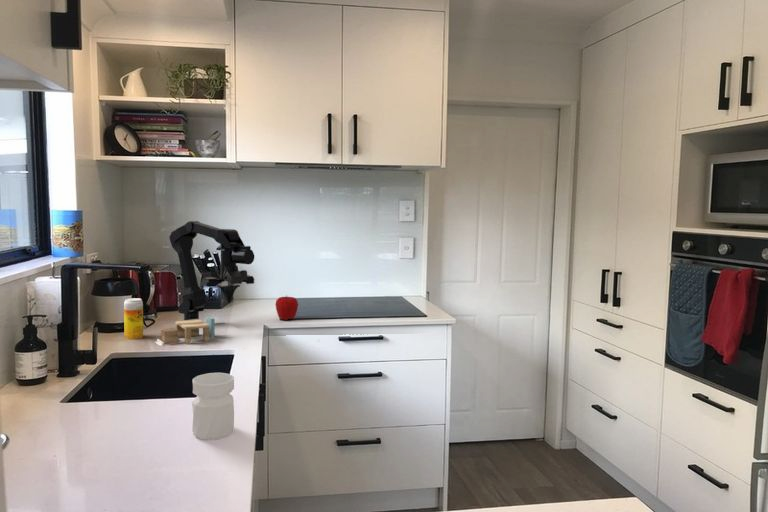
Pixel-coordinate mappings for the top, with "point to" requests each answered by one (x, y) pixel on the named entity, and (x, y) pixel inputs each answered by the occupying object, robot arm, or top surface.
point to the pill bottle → (213, 406)
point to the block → (169, 335)
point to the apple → (286, 307)
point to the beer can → (133, 318)
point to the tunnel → (191, 329)
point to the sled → (211, 335)
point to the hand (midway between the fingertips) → (228, 303)
